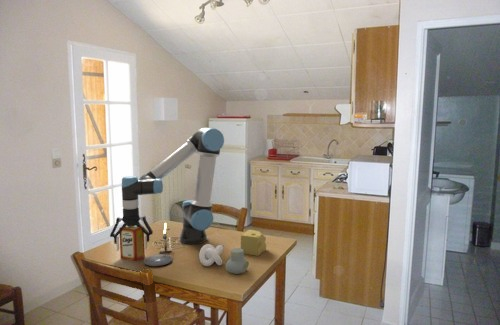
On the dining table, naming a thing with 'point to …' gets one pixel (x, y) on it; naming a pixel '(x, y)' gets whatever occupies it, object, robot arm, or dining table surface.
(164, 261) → the plate
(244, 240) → the cheese
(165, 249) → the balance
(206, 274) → the dining table surface
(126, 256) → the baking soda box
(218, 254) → the white knot sculpture
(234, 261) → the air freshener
